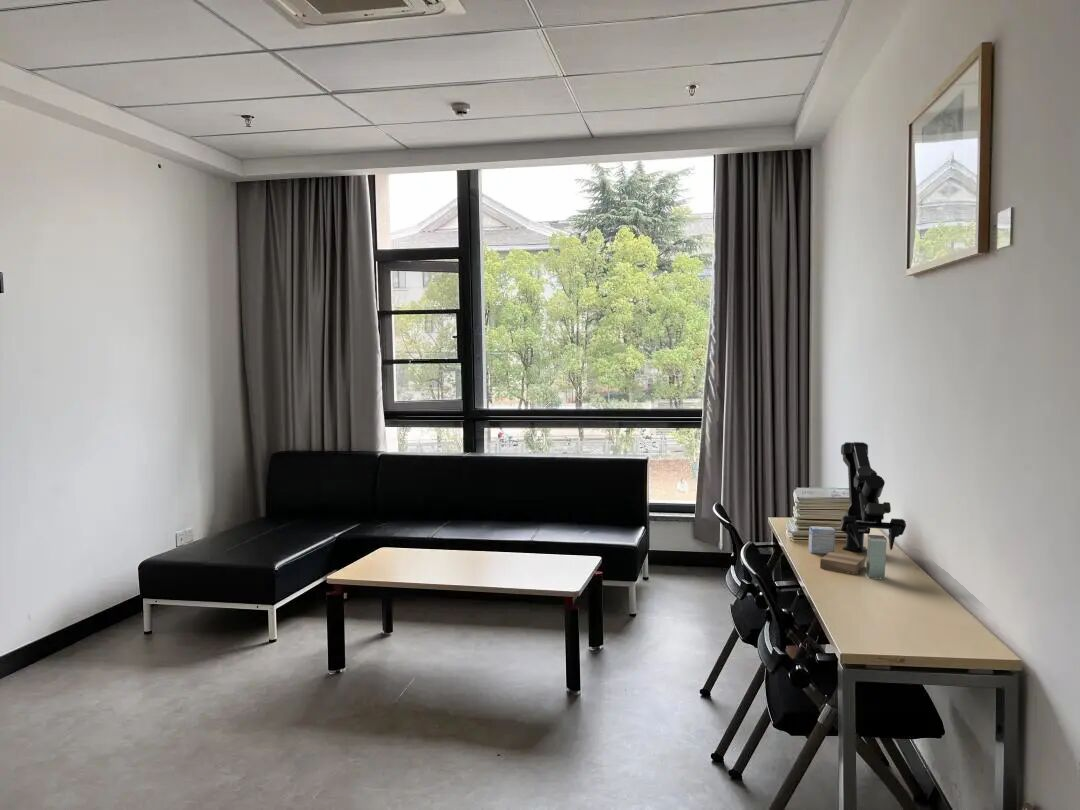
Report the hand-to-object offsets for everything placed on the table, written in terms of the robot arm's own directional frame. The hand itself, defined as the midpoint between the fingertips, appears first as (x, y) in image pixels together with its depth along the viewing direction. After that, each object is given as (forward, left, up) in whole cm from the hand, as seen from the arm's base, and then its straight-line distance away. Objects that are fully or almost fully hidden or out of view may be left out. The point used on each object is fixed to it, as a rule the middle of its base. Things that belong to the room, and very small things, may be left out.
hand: (875, 548), depth 242 cm
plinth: (-3, -11, -9) cm, 14 cm away
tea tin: (+1, 0, -9) cm, 9 cm away
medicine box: (-17, -22, -9) cm, 29 cm away
